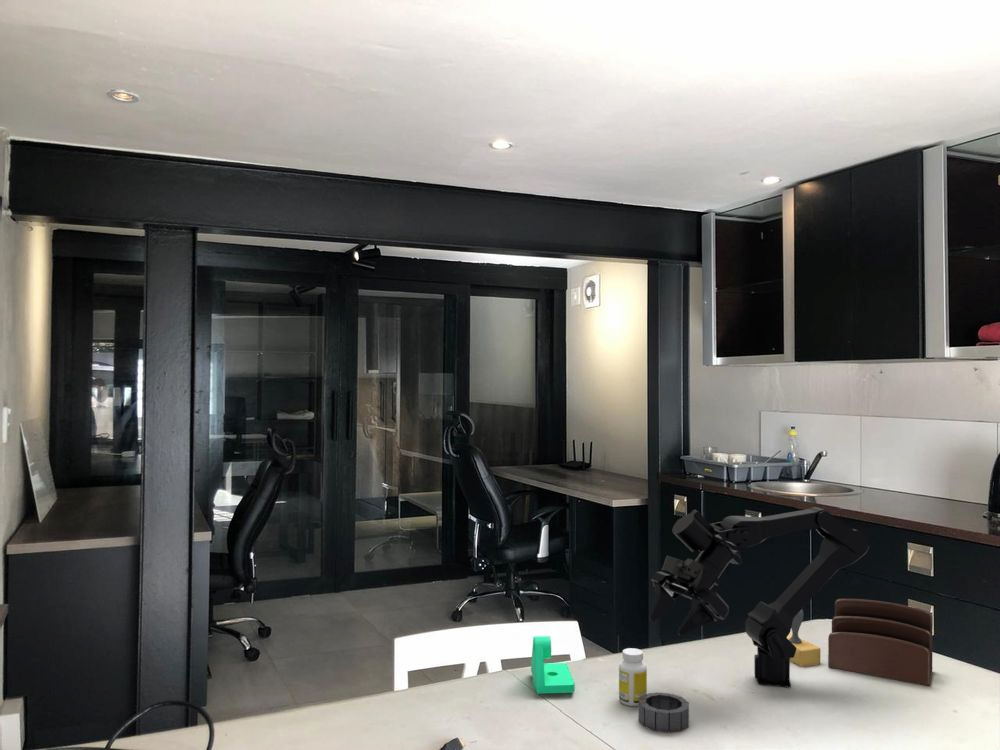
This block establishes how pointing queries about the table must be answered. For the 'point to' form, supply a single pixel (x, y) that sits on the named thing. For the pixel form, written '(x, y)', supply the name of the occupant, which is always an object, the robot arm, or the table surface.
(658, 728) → the ring
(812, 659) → the rubber stamp
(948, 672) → the table surface
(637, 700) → the supplement bottle
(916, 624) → the letter holder
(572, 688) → the camera mount
